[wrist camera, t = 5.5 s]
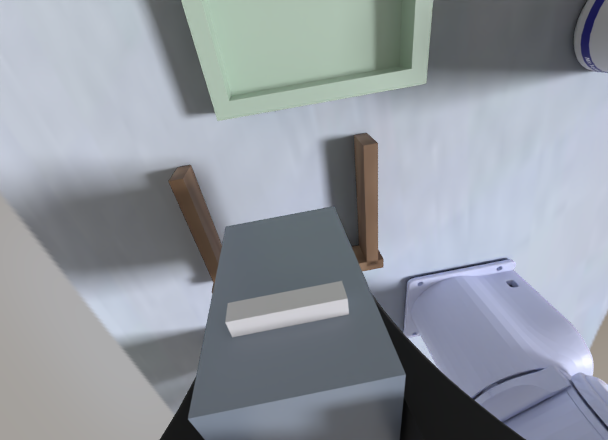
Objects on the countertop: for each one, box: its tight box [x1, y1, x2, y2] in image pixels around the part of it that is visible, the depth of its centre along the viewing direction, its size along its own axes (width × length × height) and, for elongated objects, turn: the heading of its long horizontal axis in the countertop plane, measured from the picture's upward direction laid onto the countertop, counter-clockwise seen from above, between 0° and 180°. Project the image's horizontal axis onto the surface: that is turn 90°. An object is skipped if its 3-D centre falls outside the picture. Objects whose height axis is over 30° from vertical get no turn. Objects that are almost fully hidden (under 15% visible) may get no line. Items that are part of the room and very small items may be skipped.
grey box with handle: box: [188, 206, 406, 440], centre depth 10 cm, size 4×8×7 cm, turn 8°
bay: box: [168, 133, 383, 294], centre depth 19 cm, size 12×9×2 cm
